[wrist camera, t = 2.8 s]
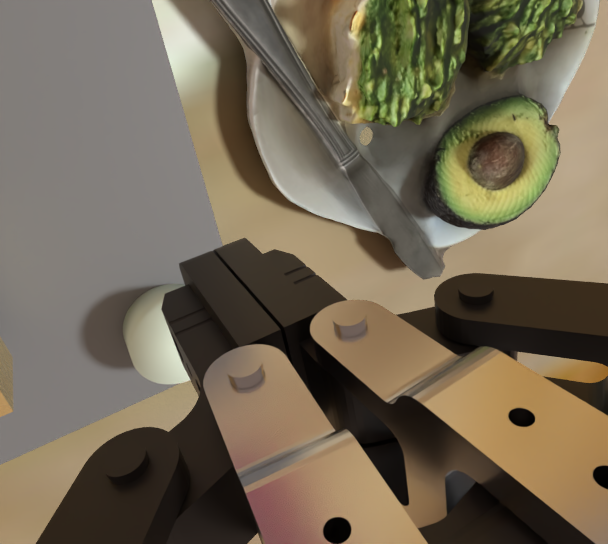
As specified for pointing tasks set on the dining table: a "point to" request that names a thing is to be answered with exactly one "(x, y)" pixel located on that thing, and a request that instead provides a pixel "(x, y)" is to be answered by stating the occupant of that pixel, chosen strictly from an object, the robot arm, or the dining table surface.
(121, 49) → the base
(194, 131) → the dining table surface
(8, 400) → the tan elongated block
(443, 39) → the salad plate
